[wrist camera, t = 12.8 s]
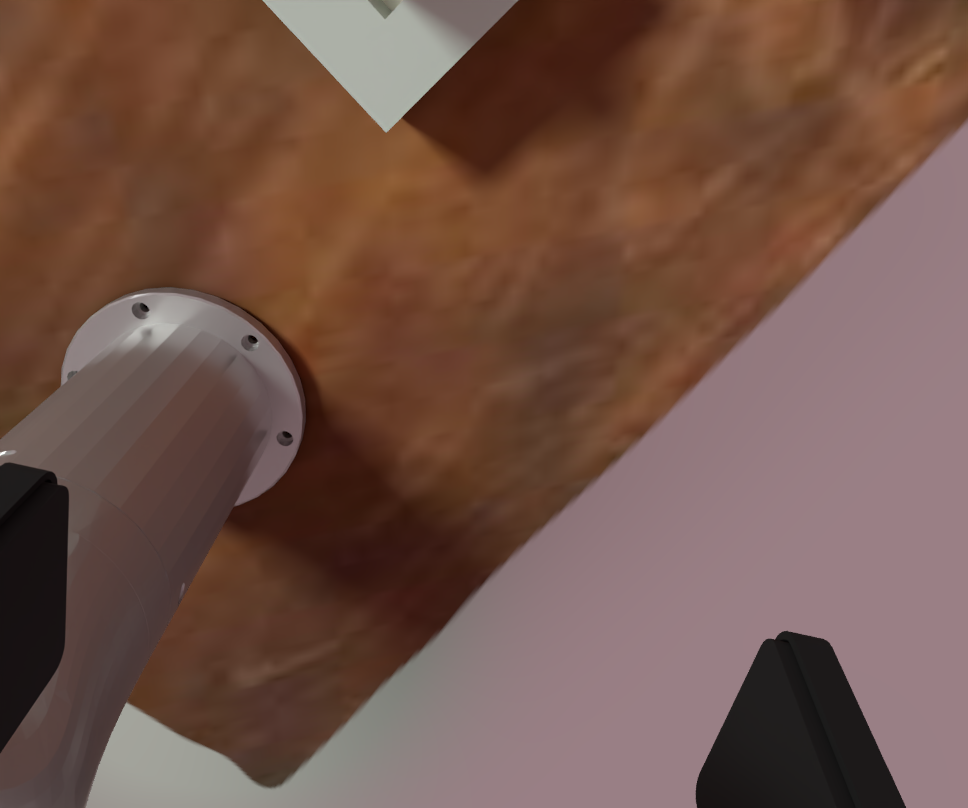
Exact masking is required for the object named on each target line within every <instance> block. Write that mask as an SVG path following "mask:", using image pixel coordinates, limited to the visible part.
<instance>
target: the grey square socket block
mask: <svg viewBox="0 0 968 808" xmlns="http://www.w3.org/2000/svg"><path fill="white" fill-rule="evenodd" d="M263 1H264V2H265V3H266V5H267V6H268V7H269V8H270V9H271V10H272V11H273V12H274V13H275V14H276V15H277V16H278V17H279V18H280V20H281V21H282V22H283V23H284V24H285V25H286V26H287V27H288V28H289V29H290V30H291V31H292V32H293V33H294V35H295V36H296V37H297V38H298V39H299V40H300V41H301V42H302V43H303V44H304V45H305V46H306V47H307V48H308V50H309V51H310V52H311V53H312V54H313V55H314V56H315V57H316V58H317V59H318V60H319V61H320V62H321V63H322V65H323V66H324V67H325V68H326V69H327V70H328V71H329V72H330V73H331V74H332V75H333V76H334V77H335V78H336V80H337V81H338V82H339V83H340V84H341V85H342V86H343V87H344V88H345V89H346V90H347V91H348V92H349V93H350V95H351V96H352V97H353V98H354V99H355V100H356V101H357V102H358V103H359V104H360V105H361V106H362V107H363V108H364V110H365V111H366V112H367V113H368V114H369V115H370V116H371V117H372V118H373V119H374V120H375V121H376V122H377V123H378V124H379V126H380V127H381V128H382V129H383V130H384V131H385V132H386V133H387V132H388V131H389V130H390V129H391V128H392V127H393V126H394V125H395V124H396V123H397V122H398V121H399V120H400V119H401V118H402V116H403V115H404V114H405V113H406V112H407V111H408V110H409V109H410V108H411V107H412V106H413V105H414V104H415V103H416V102H417V101H418V100H419V99H420V98H421V97H422V96H423V95H424V94H425V93H426V92H427V91H428V90H429V89H430V88H431V87H432V86H433V85H434V84H435V83H436V82H437V81H438V80H439V79H440V78H441V77H442V76H443V75H444V74H445V73H446V72H447V71H448V70H449V69H450V68H451V67H452V66H453V65H454V64H455V63H456V62H457V61H458V60H459V59H460V58H461V57H462V56H463V55H464V54H465V53H466V52H467V51H468V50H469V49H470V48H471V47H472V46H473V45H474V44H475V43H476V42H477V41H478V40H479V39H480V38H481V37H482V36H483V35H484V34H485V33H486V32H487V31H488V30H489V29H490V28H491V27H492V26H493V25H494V24H495V23H496V22H497V21H498V20H499V19H500V18H501V17H502V16H503V15H504V14H505V13H506V12H507V11H508V10H509V9H510V8H511V7H512V6H513V5H514V4H515V3H516V2H517V1H518V0H263Z"/></svg>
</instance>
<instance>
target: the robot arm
mask: <svg viewBox="0 0 968 808" xmlns="http://www.w3.org/2000/svg"><path fill="white" fill-rule="evenodd" d="M143 304H145V305H146V306H147V307H148V308H149V309H147V308H145V307H144V305H143ZM250 335H252V336H254V337H256V339H257V340H258V341H254V340H252V339H251V337H250ZM305 423H306V407H305V397H304V393H303V388H302V384H301V380H300V378H299V375H298V373H297V371H296V369H295V367H294V364H293V362H292V360H291V358H290V357H289V355H288V354H287V353H286V351H285V350H284V348H283V347H282V345H281V344H280V342H279V341H278V340H277V339H276V338H275V337H274V336H273V335H272V334H271V333H270V332H269V331H268V330H267V329H266V328H265V327H264V326H263V325H262V324H261V323H260V322H259V321H258V320H256V319H255V318H254V317H252V316H251V315H249V314H248V313H247V312H245V311H244V310H242V309H241V308H239V307H237V306H235V305H233V304H231V303H229V302H227V301H225V300H223V299H221V298H219V297H216V296H213V295H209V294H206V293H203V292H199V291H196V290H190V289H181V288H173V287H167V288H152V289H145V290H141V291H137V292H134V293H130V294H126V295H124V296H122V297H120V298H118V299H116V300H114V301H112V302H110V303H108V304H107V305H105V306H104V307H103V308H101V309H100V310H99V311H98V312H96V313H95V314H93V315H92V316H91V317H90V318H89V319H88V320H87V321H86V322H85V323H84V324H83V325H82V327H81V328H80V329H79V330H78V331H77V332H76V334H75V336H74V338H73V339H72V341H71V343H70V345H69V347H68V348H67V351H66V355H65V359H64V362H63V366H62V373H61V387H60V388H59V389H58V390H56V391H55V392H54V393H53V394H52V395H51V396H49V397H48V398H47V399H46V400H45V401H44V402H43V403H41V404H40V405H39V406H38V407H37V408H36V409H35V410H33V411H32V412H31V413H30V414H29V415H28V416H27V417H25V418H24V419H23V420H22V421H21V422H20V423H19V424H17V425H16V426H15V427H14V428H13V429H12V430H11V431H9V432H8V433H7V434H6V435H5V436H4V437H3V438H1V439H0V808H85V807H86V804H87V801H88V797H89V794H90V791H91V787H92V784H93V781H94V778H95V775H96V772H97V769H98V766H99V764H100V761H101V758H102V756H103V753H104V751H105V748H106V746H107V743H108V741H109V738H110V735H111V733H112V731H113V729H114V727H115V725H116V722H117V720H118V718H119V716H120V714H121V712H122V709H123V707H124V705H125V704H126V702H127V700H128V698H129V696H130V694H131V692H132V690H133V688H134V686H135V684H136V682H137V680H138V678H139V676H140V675H141V673H142V671H143V669H144V667H145V665H146V664H147V662H148V660H149V658H150V656H151V655H152V653H153V651H154V649H155V647H156V645H157V644H158V642H159V640H160V638H161V637H162V635H163V633H164V631H165V629H166V628H167V626H168V624H169V622H170V620H171V619H172V617H173V615H174V613H175V611H176V610H177V608H178V606H179V604H180V602H181V601H182V599H183V597H184V595H185V593H186V592H187V590H188V588H189V586H190V584H191V583H192V581H193V579H194V577H195V575H196V574H197V572H198V570H199V568H200V566H201V565H202V563H203V561H204V559H205V557H206V556H207V554H208V552H209V550H210V548H211V547H212V545H213V543H214V541H215V539H216V538H217V536H218V534H219V532H220V530H221V529H222V527H223V525H224V523H225V521H226V520H227V518H228V516H229V514H230V512H231V511H232V509H233V507H234V506H239V505H241V504H243V503H246V502H248V501H250V500H253V499H255V498H257V497H259V496H260V495H261V494H263V493H264V492H266V491H267V490H269V489H270V488H271V487H273V486H274V485H275V484H276V483H277V482H278V480H279V479H280V478H281V477H282V476H283V475H284V474H285V473H286V471H287V470H288V468H289V466H290V465H291V463H292V461H293V459H294V458H295V456H296V453H297V451H298V449H299V446H300V444H301V442H302V439H303V433H304V428H305ZM285 431H287V432H288V433H290V434H287V433H286V432H285ZM696 804H697V808H906V806H905V804H904V802H903V800H902V798H901V795H900V793H899V791H898V789H897V787H896V785H895V783H894V780H893V778H892V776H891V774H890V772H889V769H888V768H887V765H886V763H885V761H884V759H883V757H882V755H881V752H880V750H879V748H878V746H877V744H876V741H875V739H874V737H873V735H872V733H871V731H870V728H869V726H868V724H867V722H866V720H865V718H864V716H863V713H862V711H861V709H860V707H859V705H858V702H857V700H856V698H855V696H854V694H853V692H852V689H851V687H850V685H849V683H848V681H847V679H846V676H845V674H844V672H843V670H842V668H841V666H840V663H839V661H838V659H837V657H836V655H835V652H834V650H833V648H832V646H831V645H830V643H829V642H828V641H826V640H824V639H821V638H816V637H811V636H807V635H802V634H798V633H793V632H788V631H784V632H781V633H780V634H779V635H778V636H777V637H776V639H775V640H774V639H766V640H765V641H764V642H763V644H762V645H761V647H760V649H759V651H758V653H757V655H756V658H755V659H754V662H753V664H752V666H751V668H750V670H749V672H748V674H747V676H746V678H745V680H744V682H743V684H742V686H741V689H740V691H739V693H738V695H737V697H736V699H735V701H734V703H733V706H732V707H731V710H730V712H729V714H728V716H727V718H726V720H725V722H724V724H723V726H722V728H721V730H720V732H719V734H718V736H717V739H716V740H715V743H714V745H713V747H712V749H711V751H710V753H709V755H708V757H707V759H706V761H705V763H704V765H703V767H702V770H701V772H700V774H699V777H698V781H697V785H696Z"/></svg>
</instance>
